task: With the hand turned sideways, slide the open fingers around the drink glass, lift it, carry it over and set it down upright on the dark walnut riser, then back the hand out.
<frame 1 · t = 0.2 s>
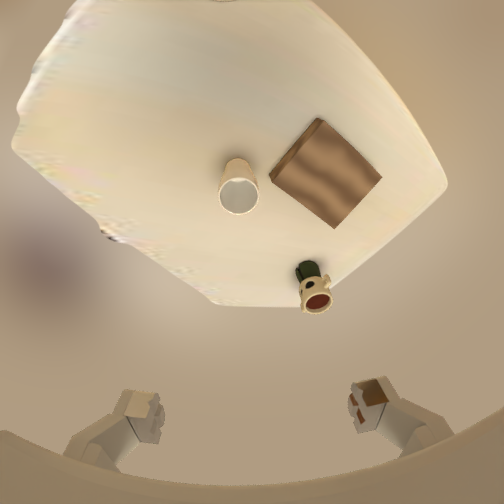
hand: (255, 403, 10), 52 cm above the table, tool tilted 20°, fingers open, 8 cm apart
walnut riser dock: (323, 171, 58), on the table
character mug: (306, 269, 73), on the table
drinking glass: (237, 169, 57), on the table
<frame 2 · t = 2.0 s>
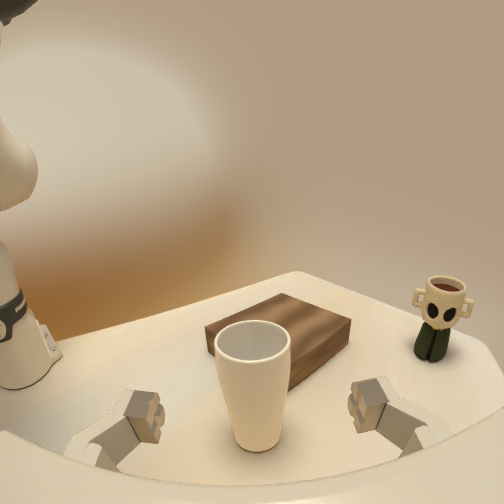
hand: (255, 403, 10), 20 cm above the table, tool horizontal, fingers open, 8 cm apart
walnut riser dock: (279, 349, 45), on the table
character mug: (428, 353, 38), on the table
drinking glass: (257, 437, 28), on the table
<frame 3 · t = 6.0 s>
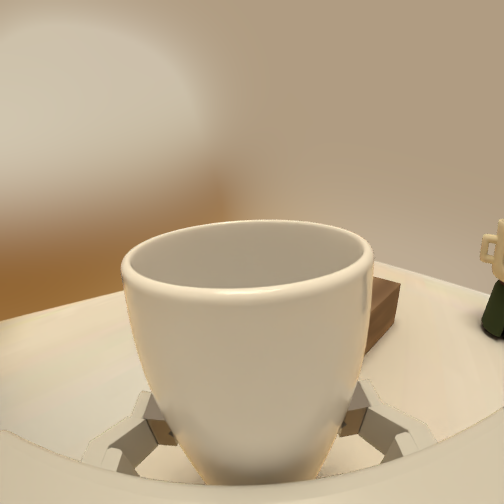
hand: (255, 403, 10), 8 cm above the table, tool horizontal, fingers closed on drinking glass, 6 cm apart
walnut riser dock: (293, 333, 29), on the table
character mug: (498, 331, 22), on the table
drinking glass: (261, 493, 12), on the table, touching gripper
when the fingers open (14 cm above the table, at t = 11.3 s): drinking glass moves 2 cm, resting on walnut riser dock.
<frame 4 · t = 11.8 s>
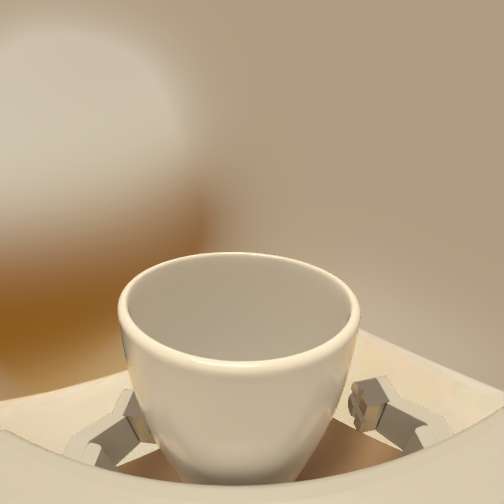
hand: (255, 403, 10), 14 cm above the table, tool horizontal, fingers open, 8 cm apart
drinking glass: (236, 497, 12), point 5 cm above the table, touching gripper, walnut riser dock
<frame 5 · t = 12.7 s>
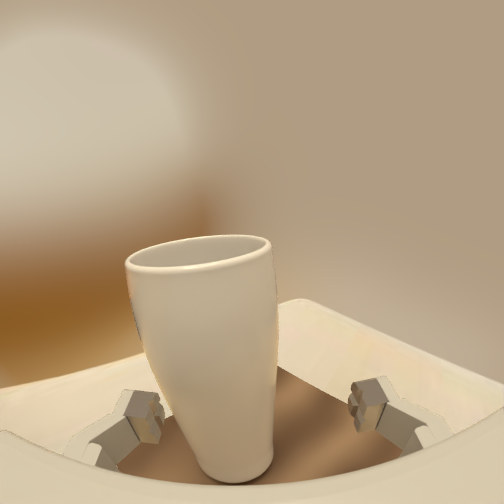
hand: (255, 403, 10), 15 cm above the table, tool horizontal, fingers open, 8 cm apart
walnut riser dock: (260, 486, 17), on the table
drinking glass: (236, 459, 16), point 5 cm above the table, touching walnut riser dock
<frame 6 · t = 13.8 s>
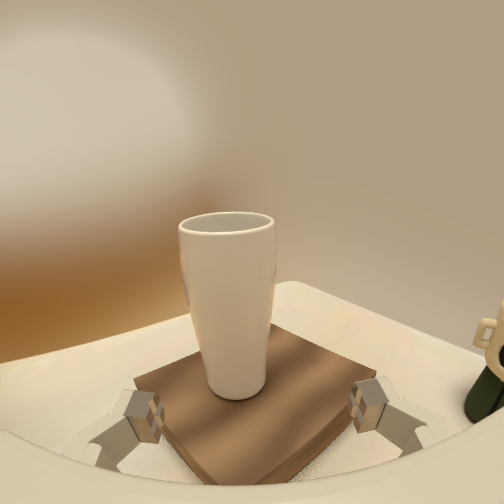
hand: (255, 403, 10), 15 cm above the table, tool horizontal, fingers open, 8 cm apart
walnut riser dock: (255, 416, 25), on the table
character mug: (483, 410, 19), on the table
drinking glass: (236, 383, 24), point 5 cm above the table, touching walnut riser dock
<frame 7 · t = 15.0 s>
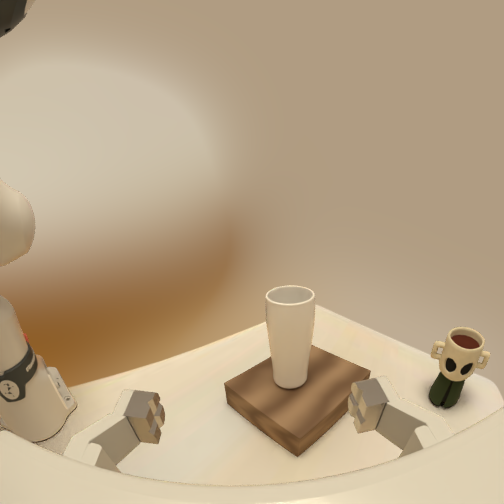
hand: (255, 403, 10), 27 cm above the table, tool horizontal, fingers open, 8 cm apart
walnut riser dock: (298, 400, 42), on the table
character mug: (442, 398, 35), on the table
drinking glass: (290, 380, 41), point 5 cm above the table, touching walnut riser dock
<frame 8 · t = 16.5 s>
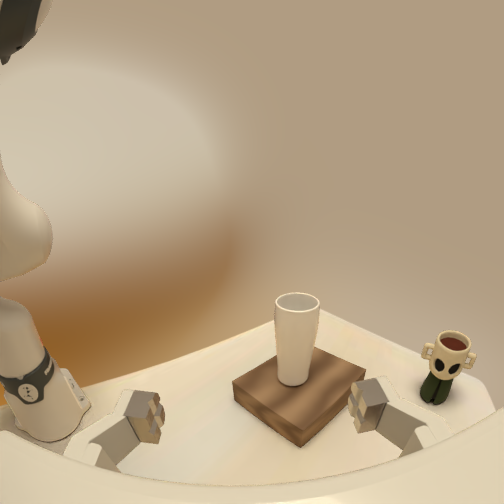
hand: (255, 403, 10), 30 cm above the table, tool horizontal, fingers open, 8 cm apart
walnut riser dock: (300, 396, 46), on the table
character mug: (432, 395, 39), on the table
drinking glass: (292, 378, 45), point 5 cm above the table, touching walnut riser dock
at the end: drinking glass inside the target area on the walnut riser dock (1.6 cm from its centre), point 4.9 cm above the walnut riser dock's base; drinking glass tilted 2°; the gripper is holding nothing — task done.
